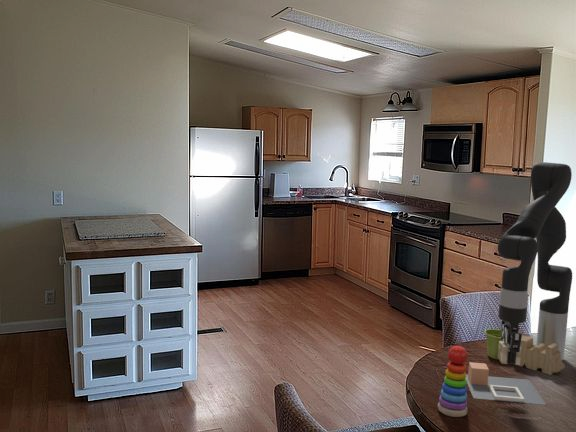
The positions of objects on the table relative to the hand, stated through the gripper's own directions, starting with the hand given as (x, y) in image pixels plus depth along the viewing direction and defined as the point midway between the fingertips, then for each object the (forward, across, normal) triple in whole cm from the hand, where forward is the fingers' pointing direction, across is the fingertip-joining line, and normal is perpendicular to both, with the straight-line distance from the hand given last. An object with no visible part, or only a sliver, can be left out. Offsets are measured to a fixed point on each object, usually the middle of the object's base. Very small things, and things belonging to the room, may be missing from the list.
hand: (508, 360), depth 163 cm
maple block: (0, 0, 0) cm, 0 cm away
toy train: (+12, +26, -15) cm, 32 cm away
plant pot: (+12, +36, -5) cm, 38 cm away
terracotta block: (+10, +9, +6) cm, 15 cm away
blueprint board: (+11, +5, 0) cm, 12 cm away
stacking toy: (+12, -12, +17) cm, 24 cm away
